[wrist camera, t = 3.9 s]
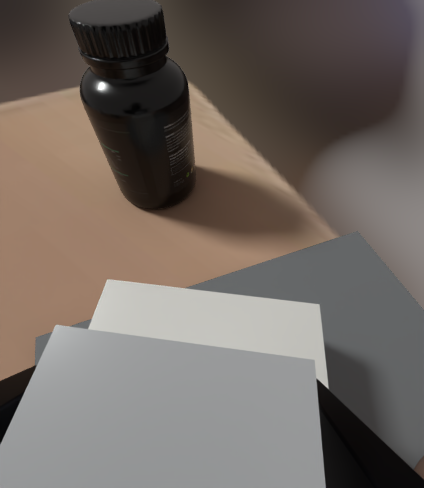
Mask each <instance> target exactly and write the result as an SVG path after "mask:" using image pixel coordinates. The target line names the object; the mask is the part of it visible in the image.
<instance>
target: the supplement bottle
mask: <svg viewBox="0 0 424 488" xmlns="http://www.w3.org/2000/svg"><path fill="white" fill-rule="evenodd" d="M69 13H70V14H69V15H68V16H69V21H70V24H71V27H72V30H73V32H74V35H75V37H76V40H77V43H78V45H79V47H78V48H79V51H80V54H81V56H82V59H83V61H84V62H85V63H87V64H88V65H90V67H89V68H88V69H87V70H86V71H85V73H84V74H83V77H82V79H81V83H80V97H81V100H82V103H83V105H84V108H85V110H86V113H87V115H88V117H89V120H90V122H91V124H92V126H93V129H94V131H95V133H96V136H97V138H98V140H99V142H100V145H101V147H102V149H103V151H104V154H105V156H106V158H107V161H108V163H109V165H110V167H111V170H112V172H113V174H114V177H115V179H116V181H117V183H118V185H119V188H120V190H121V192H122V193H123V195H124V196H125V198H126V199H127V200H128V201H130V202H131V203H133V204H135V205H137V206H139V207H142V208H147V209H162V208H167V207H170V206H173V205H175V204H177V203H179V202H181V201H182V200H184V199H185V198H186V197H187V196H188V195H189V194H190V193H191V191H192V189H193V188H194V185H195V181H196V171H195V157H194V145H193V133H192V121H191V109H190V97H189V88H188V81H187V78H186V76H185V74H184V72H183V71H182V69H181V68H180V66H179V65H178V64H177V63H175V62H174V61H173V60H172V59H170V58H168V57H167V56H166V54H167V53H168V51H169V44H168V37H167V36H166V30H165V23H164V15H163V10H162V6H161V5H159V3H157V2H156V1H153V0H94V1H90V2H87V3H84V4H81V5H79V6H77V7H76V8H74V9H72V11H70V12H69Z"/></svg>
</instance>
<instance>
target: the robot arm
mask: <svg viewBox="0 0 424 488" xmlns="http://www.w3.org/2000/svg"><path fill="white" fill-rule="evenodd" d="M36 367H37V365H35V366H33V367H31V368H29V369H26V370H24V371H22V372H20V373H17V374H15V375H13V376H10V377H8V378H6V379H4V380H1V381H0V444H1V442H2V440H3V438H4V436H5V434H6V431H7V429H8V427H9V425H10V423H11V421H12V418H13V416H14V414H15V412H16V410H17V408H18V406H19V403H20V401H21V399H22V397H23V395H24V393H25V390H26V388H27V386H28V384H29V382H30V380H31V378H32V375H33V373H34V371H35V369H36ZM316 382H317V393H318V405H319V416H320V428H321V439H322V451H323V462H324V474H325V485H326V488H424V479H423V478H422V477H421V476H420V475H419V474H418V473H417V472H415V471H414V470H413V469H412V468H411V467H410V466H409V465H408V464H407V463H406V462H405V461H404V460H403V459H402V458H401V457H400V456H399V455H398V454H396V453H395V452H394V451H393V450H392V449H391V448H390V447H389V446H388V445H387V444H386V443H385V442H384V441H383V440H382V439H381V438H380V437H378V436H377V435H376V434H375V433H374V432H373V431H372V430H371V429H370V428H369V427H368V426H367V425H366V424H365V423H364V422H363V421H362V420H361V419H359V418H358V417H357V416H356V415H355V414H354V413H353V412H352V411H351V410H350V409H349V408H348V407H347V406H346V405H345V404H344V403H343V402H341V401H340V400H339V399H338V398H337V397H336V396H335V395H334V394H333V393H332V392H331V391H330V390H329V389H328V388H327V387H326V386H325V385H324V384H322V383H321V382H320V381H319V380H318V379H317V378H316Z"/></svg>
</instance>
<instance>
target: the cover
mask: <svg viewBox="0 0 424 488" xmlns="http://www.w3.org/2000/svg"><path fill="white" fill-rule="evenodd" d="M316 378H317V379H318V380H319V381H320V382H321V383H322V384H324V385H325V386H326V387H327V388H328V389H329V387H328V377H327V368H326V359H325V350H324V341H323V331H322V322H321V313H320V304H313V303H304V302H296V301H287V300H279V299H270V298H262V297H253V296H245V295H236V294H228V293H219V292H211V291H202V290H194V289H186V288H177V287H169V286H160V285H152V284H143V283H135V282H126V281H118V280H109V279H107V282H106V284H105V287H104V290H103V292H102V295H101V297H100V300H99V302H98V305H97V307H96V310H95V313H94V315H93V318H92V320H91V323H90V325H89V328H88V329H83V328H76V327H68V326H61V325H56V326H55V328H54V330H53V332H52V334H51V337H50V339H49V341H48V343H47V345H46V347H45V349H44V352H43V354H42V356H41V358H40V360H39V362H38V365H37V367H36V369H35V371H34V373H33V375H32V378H31V380H30V382H29V384H28V386H27V388H26V390H25V393H24V395H23V397H22V399H21V401H20V403H19V406H18V408H17V410H16V412H15V414H14V416H13V418H12V421H11V423H10V425H9V427H8V429H7V431H6V434H5V436H4V438H3V440H2V442H1V444H0V488H326V485H325V474H324V462H323V451H322V439H321V428H320V416H319V405H318V393H317V382H316Z"/></svg>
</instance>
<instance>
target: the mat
mask: <svg viewBox="0 0 424 488" xmlns="http://www.w3.org/2000/svg"><path fill="white" fill-rule="evenodd" d="M186 289H194V290H202V291H211V292H219V293H228V294H236V295H245V296H253V297H262V298H270V299H279V300H287V301H296V302H304V303H313V304H320V313H321V322H322V331H323V341H324V350H325V359H326V368H327V377H328V387H329V390H330V391H331V392H332V393H333V394H334V395H335V396H336V397H337V398H338V399H339V400H340V401H341V402H343V403H344V404H345V405H346V406H347V407H348V408H349V409H350V410H351V411H352V412H353V413H354V414H355V415H356V416H357V417H358V418H359V419H361V420H362V421H363V422H364V423H365V424H366V425H367V426H368V427H369V428H370V429H371V430H372V431H373V432H374V433H375V434H376V435H377V436H378V437H380V438H381V439H382V440H383V441H384V442H385V443H386V444H387V445H388V446H389V447H390V448H391V449H392V450H393V451H394V452H395V453H396V454H398V455H399V456H400V457H401V458H402V459H403V460H404V461H405V462H406V463H407V464H408V465H409V466H410V467H411V468H412V469H413V470H414V468H415V466H416V465H417V463H418V462H419V460H420V459H421V458H422V457H423V456H424V310H423V309H422V307H421V306H420V305H419V304H418V303H417V301H416V300H415V299H414V298H413V297H412V295H411V294H410V293H409V292H408V291H407V289H406V288H405V287H404V286H403V285H402V283H401V282H400V281H399V280H398V279H397V277H396V276H395V275H394V274H393V273H392V271H391V270H390V269H389V268H388V267H387V266H386V264H385V263H384V262H383V261H382V260H381V258H380V257H379V256H378V255H377V254H376V252H375V251H374V250H373V249H372V248H371V246H370V245H369V244H368V243H367V242H366V240H365V239H364V238H363V237H362V236H361V235H360V233H359V232H358V231H356V232H353V233H351V234H347V235H344V236H341V237H338V238H335V239H332V240H329V241H326V242H323V243H320V244H317V245H314V246H311V247H308V248H305V249H302V250H299V251H296V252H293V253H290V254H287V255H284V256H281V257H278V258H275V259H272V260H269V261H266V262H263V263H260V264H257V265H254V266H251V267H248V268H244V269H241V270H238V271H235V272H232V273H229V274H226V275H223V276H220V277H217V278H214V279H211V280H208V281H205V282H202V283H199V284H196V285H193V286H190V287H187V288H186ZM91 320H92V319H90V320H87V321H84V322H81V323H78V324H75V325H72V326H69V327H76V328H83V329H88V328H89V325H90V323H91ZM51 334H52V332H51V333H48V334H45V335H42V336H39V337H36V347H35V365H38V362H39V360H40V358H41V356H42V354H43V352H44V349H45V347H46V345H47V343H48V341H49V339H50V337H51Z"/></svg>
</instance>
